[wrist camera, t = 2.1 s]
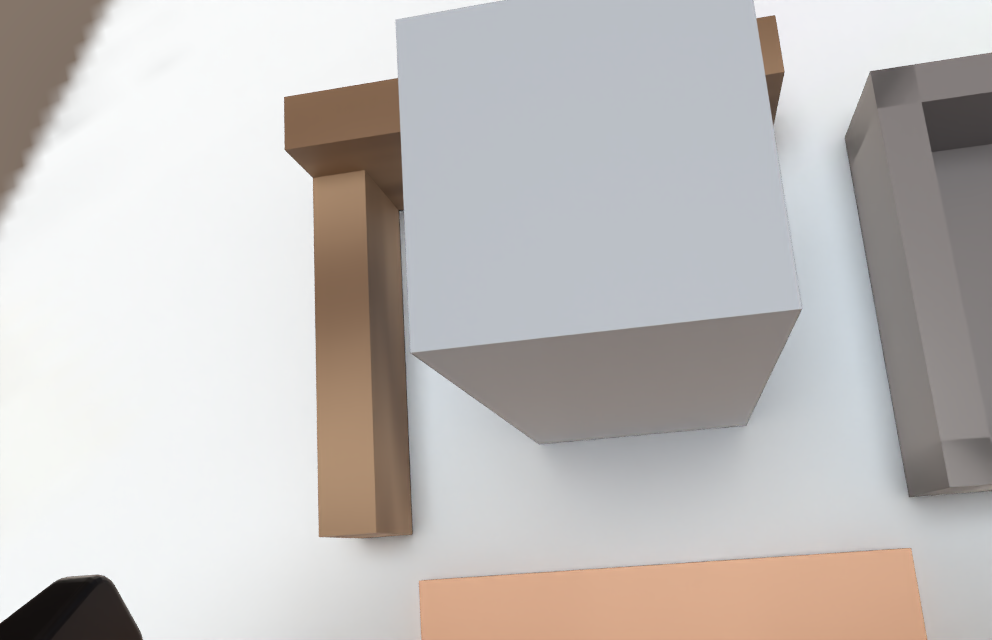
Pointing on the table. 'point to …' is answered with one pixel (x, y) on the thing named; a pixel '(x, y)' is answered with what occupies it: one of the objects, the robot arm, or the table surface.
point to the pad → (687, 601)
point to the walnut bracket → (372, 296)
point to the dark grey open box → (931, 260)
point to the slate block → (595, 212)
